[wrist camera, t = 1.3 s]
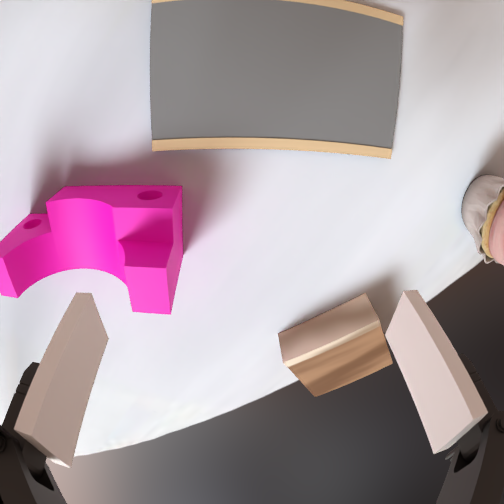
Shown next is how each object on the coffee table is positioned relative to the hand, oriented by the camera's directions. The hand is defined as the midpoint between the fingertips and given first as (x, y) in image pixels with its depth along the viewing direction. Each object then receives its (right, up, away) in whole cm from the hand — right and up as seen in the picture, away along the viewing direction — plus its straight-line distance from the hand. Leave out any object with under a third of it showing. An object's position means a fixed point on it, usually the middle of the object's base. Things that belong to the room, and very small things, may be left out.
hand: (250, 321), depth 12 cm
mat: (+2, +15, +6) cm, 17 cm away
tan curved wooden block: (+12, -11, +21) cm, 27 cm away
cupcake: (+24, +8, +13) cm, 28 cm away
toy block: (-13, +6, +12) cm, 18 cm away
